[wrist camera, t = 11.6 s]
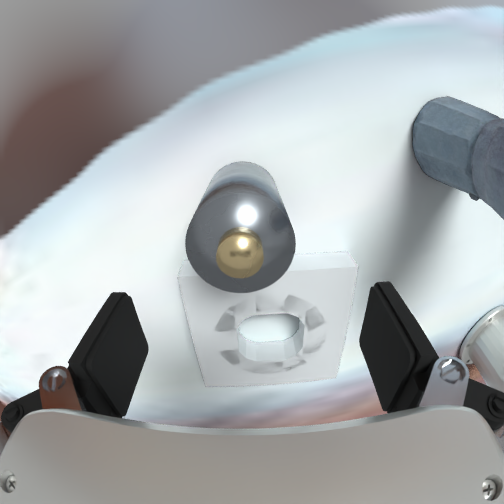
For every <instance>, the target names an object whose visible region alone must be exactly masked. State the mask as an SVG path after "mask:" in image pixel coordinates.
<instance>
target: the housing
mask: <svg viewBox="0 0 504 504" xmlns="http://www.w3.org/2000/svg"><path fill="white" fill-rule="evenodd" d="M357 272H358V265H357V264H356V262H355V260H354V259H353V257H352V256H351V254H350V253H349V251H340V252H323V253H306V254H294V257H293V260H292V263H291V265H290V266H289V268H288V270H287V271H286V272H285V274H284V275H283V276H282V277H281V278H280V279H279V280H277V281H276V282H275V283H273V284H272V285H270V286H268V287H266V288H264V289H261V290H258V291H255V292H250V293H232V292H227V291H223V290H220V289H218V288H216V287H213V286H212V285H210V284H208V283H207V282H205V281H204V280H203V279H202V278H201V277H200V276H199V275H198V274H197V273H196V272H195V270H194V269H193V267H192V266H191V264H190V262H189V260H184V261H183V264H182V266H181V269H180V271H179V274H178V282H179V286H180V291H181V295H182V300H183V304H184V308H185V312H186V316H187V321H188V325H189V329H190V332H191V336H192V340H193V344H194V348H195V351H196V355H197V359H198V362H199V366H200V369H201V373H202V376H203V380H204V383H205V386H206V387H230V386H258V385H275V384H288V383H299V382H308V381H317V380H325V379H332V378H336V377H337V373H338V369H339V365H340V360H341V356H342V352H343V347H344V343H345V338H346V334H347V329H348V324H349V319H350V314H351V308H352V303H353V297H354V291H355V285H356V279H357ZM283 313H288V314H291V315H293V316H296V317H299V329H298V330H297V332H296V333H295V334H294V335H293V336H292V337H290V338H288V339H286V340H284V341H272V342H253V341H250V340H247V339H245V338H244V337H243V336H242V334H241V333H240V332H239V325H240V324H241V322H242V321H243V320H245V319H247V318H249V317H251V316H253V315H268V314H283Z"/></svg>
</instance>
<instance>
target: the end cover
mask: <svg viewBox="0 0 504 504" xmlns="http://www.w3.org/2000/svg"><path fill="white" fill-rule="evenodd" d="M185 245H186V253H187V257H188V259H189V262H190V264H191V266H192V267H193V269H194V270H195V272H196V273H197V274H198V275H199V276H200V277H201V278H202V279H203V280H204V281H205V282H207V283H208V284H210V285H212V286H213V287H216V288H218V289H220V290H223V291H227V292H232V293H250V292H255V291H258V290H261V289H264V288H266V287H268V286H270V285H272V284H273V283H275V282H276V281H277V280H279V279H280V278H281V277H282V276H283V275H284V274H285V272H286V271H287V270H288V268H289V266H290V265H291V263H292V260H293V257H294V253H295V245H296V243H295V235H294V231H293V228H292V225H291V223H290V220H289V217H288V215H287V212H286V209H285V207H284V204H283V202H282V199H281V197H280V194H279V192H278V189H277V186H276V184H275V181H274V180H273V178H272V176H271V175H270V174H269V173H268V172H267V171H266V170H265V169H264V168H262V167H261V166H259V165H257V164H254V163H251V162H235V163H231V164H229V165H226V166H225V167H223V168H221V169H220V170H219V171H218V172H217V173H216V174H215V175H214V177H213V178H212V180H211V182H210V184H209V186H208V188H207V190H206V192H205V194H204V196H203V198H202V200H201V202H200V204H199V206H198V208H197V210H196V212H195V214H194V216H193V218H192V220H191V222H190V224H189V227H188V230H187V234H186V243H185Z"/></svg>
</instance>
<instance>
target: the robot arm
mask: <svg viewBox="0 0 504 504" xmlns="http://www.w3.org/2000/svg"><path fill="white" fill-rule="evenodd" d="M359 342H360V347H361V350H362V353H363V355H364V358H365V361H366V363H367V366H368V369H369V372H370V374H371V377H372V380H373V383H374V386H375V389H376V392H377V395H378V397H379V400H380V403H381V406H382V409H383V411H387V413H388V414H383V415H378V416H372V417H367V418H361V419H355V420H349V421H342V422H335V423H328V424H319V425H310V426H298V427H284V428H263V429H220V428H199V427H185V426H174V425H164V424H156V423H148V422H141V421H135V420H129V419H122V416H125V415H126V413H127V411H128V408H129V405H130V402H131V399H132V396H133V393H134V390H135V387H136V384H137V382H138V379H139V376H140V373H141V370H142V368H143V365H144V362H145V360H146V357H147V354H148V343H147V341H146V338H145V335H144V333H143V330H142V327H141V324H140V322H139V319H138V316H137V313H136V310H135V307H134V304H133V301H132V298H131V297H130V296H128V295H127V293H125V292H113V293H111V294H110V296H109V297H108V299H107V300H106V302H105V303H104V305H103V306H102V308H101V309H100V311H99V312H98V314H97V316H96V317H95V319H94V320H93V322H92V323H91V325H90V326H89V328H88V330H87V331H86V333H85V334H84V336H83V338H82V339H81V341H80V343H79V344H78V346H77V348H76V349H75V351H74V353H73V354H72V356H71V358H70V359H69V361H68V363H69V366H68V368H65V367H63V366H55V367H51V368H49V369H48V370H46V371H45V372H44V373H43V374H42V376H41V377H40V380H39V389H38V390H36V391H34V392H32V393H30V394H28V395H25V396H23V397H21V398H19V399H17V400H15V401H13V402H11V403H9V404H8V405H7V406H6V407H5V408H4V410H3V412H2V416H1V419H2V420H1V422H0V504H504V306H499V307H497V308H495V309H493V310H491V311H490V312H488V313H487V314H486V315H485V316H484V317H482V318H481V319H480V320H479V321H478V322H477V324H476V325H475V326H474V327H473V328H472V329H471V331H470V332H469V333H468V335H467V336H466V338H465V340H464V342H463V343H462V346H461V348H460V353H459V356H460V359H461V360H462V361H461V360H460V359H458V358H456V357H453V356H443V357H441V358H439V357H438V355H437V353H436V352H435V350H434V348H433V346H432V345H431V343H430V341H429V340H428V338H427V336H426V335H425V333H424V332H423V330H422V328H421V327H420V325H419V324H418V322H417V320H416V319H415V317H414V316H413V314H412V313H411V312H410V310H409V309H408V307H407V306H406V304H405V303H404V301H403V300H402V298H401V297H400V295H399V294H398V292H397V291H396V289H395V288H394V286H393V285H392V283H391V282H377V283H375V285H374V287H371V288H370V292H369V297H368V302H367V307H366V312H365V317H364V321H363V326H362V330H361V334H360V339H359ZM473 363H474V365H475V366H476V368H477V369H478V371H479V372H480V374H481V376H482V377H483V379H484V381H485V382H486V384H487V385H484V384H482V383H479V382H477V381H475V380H472V379H470V378H469V370H468V367H467V366H466V364H473Z"/></svg>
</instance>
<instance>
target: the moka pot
mask: <svg viewBox="0 0 504 504" xmlns="http://www.w3.org/2000/svg"><path fill="white" fill-rule="evenodd" d="M413 148H414V152H415V156H416V159H417V160H418V163H419V165H420V167H421V169H422V170H423V172H424V173H425V174H426V175H428V176H429V177H431V178H434V179H436V180H438V181H440V182H442V183H444V184H446V185H449V186H451V187H454V188H456V189H459V190H461V191H464V192H466V193H469V196H470V197H471V199H473V200H476V201H477V200H478V199H482V200H483V201H484V202H485V203H487V204H488V205H489V206H491V207H492V208H493V209H494V210H495V211H496V212H497V213H498V214H499V215H500V216H501V217H502V218H503V219H504V119H500V118H499V117H498V116H496V115H494V114H491V113H489V112H487V111H485V110H483V109H480V108H477V107H475V106H473V105H470V104H468V103H465V102H463V101H461V100H457V99H455V98H452V97H448V96H447V97H441V98H435V99H433V100H430V101H429V102H428V103H426V104H425V106H424V107H423V108H422V110H421V111H420V113H419V115H418V116H417V119H416V120H415V123H414V129H413Z"/></svg>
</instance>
